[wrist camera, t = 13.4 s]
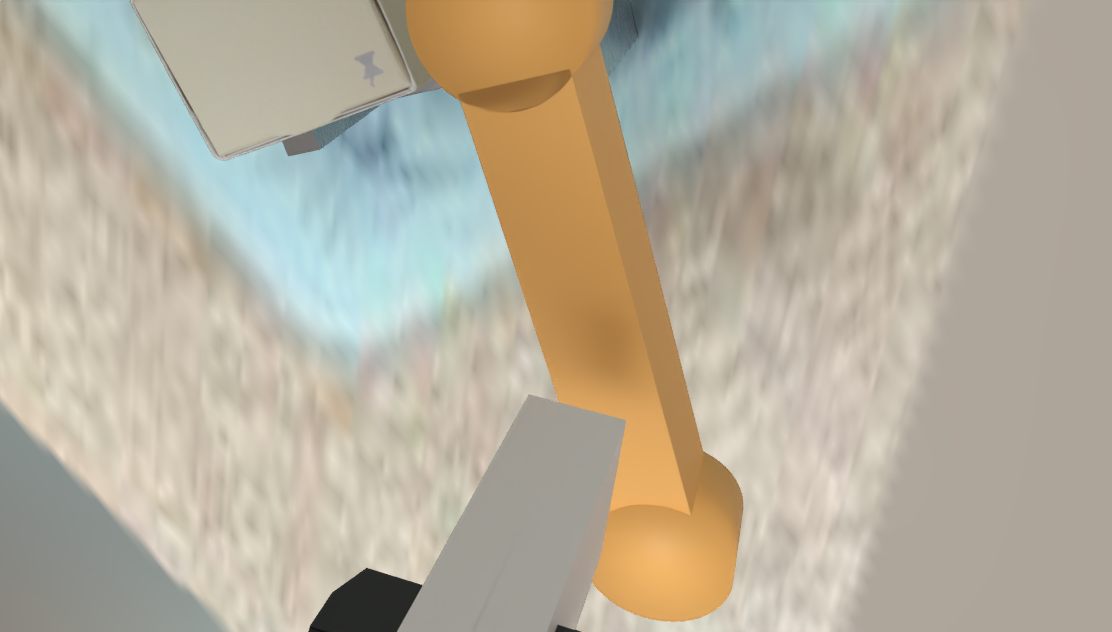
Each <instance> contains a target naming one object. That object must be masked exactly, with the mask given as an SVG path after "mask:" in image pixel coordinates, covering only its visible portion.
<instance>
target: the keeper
mask: <svg viewBox="0 0 1112 632" xmlns="http://www.w3.org/2000/svg"><path fill="white" fill-rule="evenodd" d="M405 6H406V20H407V26H408V31H409V35H410V38H411V42H412V44H413V46H414V49H415V51H416V54H417V55H418V57H419V59H420V61H421V63H422V64H423V66H424V67H425V69H426V70H427V72H428V73H429V74H430V75H431V77H432V78H433V79H434V80H435V81H436V82H437V83H438V84H439V85H440V86H441V87H442V88H443V89H444V90H445V91H446V92H448V93H449V94H451V95H452V96H453V97H455V98H456V99H458V100H460V102H461V105H462V108H463V111H464V114H465V117H466V120H467V123H468V126H469V129H470V132H471V135H472V139H473V142H474V145H475V148H476V151H477V154H478V157H479V160H480V163H481V166H482V169H483V172H484V175H485V178H486V181H487V184H488V187H489V190H490V193H491V196H492V199H493V202H494V206H495V209H496V212H497V215H498V218H499V221H500V224H501V227H502V230H503V233H504V236H505V239H506V242H507V245H508V248H509V251H510V254H511V257H512V260H513V263H514V266H515V269H516V272H517V276H518V279H519V282H520V285H521V288H522V291H523V294H524V297H525V300H526V303H527V306H528V309H529V312H530V315H531V318H532V321H533V324H534V327H535V330H536V333H537V336H538V339H539V343H540V346H541V349H542V352H543V355H544V358H545V361H546V364H547V367H548V370H549V373H550V376H551V379H552V382H553V385H554V388H555V391H556V394H557V397H558V400H559V403H563V404H567V405H570V406H574V407H578V408H582V409H586V410H589V411H593V412H597V413H601V414H605V415H608V416H612V417H616V418H620V419H624V420H626V425H625V430H624V436H623V441H622V446H621V452H620V457H619V462H618V467H617V473H616V478H615V483H614V489H613V494H612V499H611V504H610V510H609V515H608V520H607V526H606V531H605V536H604V541H603V547H602V552H601V556H600V559H599V562H598V565H597V568H596V571H595V574H594V577H593V580H592V582H593V584H594V585H595V586H596V588H597V589H598V590H599V591H600V592H601V593H602V594H603V595H604V596H605V597H607V598H608V599H609V600H610V601H612V602H613V603H615V604H616V605H617V606H619V607H621V608H623V609H625V610H626V611H629V612H631V613H633V614H636V615H639V616H642V617H645V618H649V619H653V620H659V621H670V622H677V621H687V620H693V619H697V618H700V617H703V616H705V615H707V614H709V613H711V612H713V611H714V610H716V609H717V608H718V607H720V606H721V605H722V604H723V602H724V601H725V600H726V599H727V597H728V596H729V594H730V591H731V589H732V585H733V580H734V572H735V565H736V558H737V550H738V543H739V536H740V529H741V521H742V514H743V497H742V493H741V490H740V487H739V485H738V483H737V481H736V479H735V478H734V477H733V475H732V474H731V473H730V471H729V470H728V469H727V468H726V467H725V466H724V465H723V464H722V463H720V462H719V461H718V460H716V459H715V458H714V457H712V456H710V455H709V454H707V453H705V452H703V449H702V445H701V441H700V437H699V433H698V430H697V426H696V422H695V418H694V414H693V410H692V406H691V402H690V398H689V394H688V390H687V386H686V382H685V378H684V374H683V370H682V367H681V363H680V359H679V355H678V351H677V347H676V343H675V339H674V335H673V331H672V327H671V323H670V319H669V315H668V311H667V307H666V304H665V300H664V296H663V292H662V288H661V284H660V280H659V276H658V272H657V268H656V264H655V260H654V256H653V252H652V248H651V244H650V241H649V237H648V233H647V229H646V225H645V221H644V217H643V213H642V209H641V205H640V201H639V197H638V193H637V189H636V185H635V181H634V178H633V174H632V170H631V166H630V162H629V158H628V154H627V150H626V146H625V142H624V138H623V134H622V130H621V126H620V122H619V118H618V115H617V111H616V107H615V103H614V99H613V95H612V91H611V87H610V83H609V79H608V75H607V71H606V67H605V63H604V59H603V55H602V52H601V48H600V43H601V41H602V39H603V37H604V35H605V33H606V31H607V29H608V26H609V23H610V20H611V15H612V10H613V0H406V3H405Z"/></svg>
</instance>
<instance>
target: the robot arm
mask: <svg viewBox="0 0 1112 632" xmlns="http://www.w3.org/2000/svg"><path fill="white" fill-rule="evenodd" d="M625 425H626V420H624V419H620V418H616V417H612V416H608V415H605V414H601V413H597V412H593V411H589V410H586V409H582V408H578V407H574V406H570V405H567V404H563V403H559V402H555V401H551V400H548V399H544V398H540V397H536V396H532V395H528V397H527V399H526V401H525V402H524V404H523V406H522V408H521V410H520V411H519V413H518V415H517V417H516V419H515V420H514V422H513V424H512V426H511V428H510V429H509V431H508V433H507V435H506V437H505V438H504V440H503V442H502V444H501V446H500V447H499V449H498V451H497V453H496V455H495V456H494V458H493V460H492V462H491V464H490V465H489V467H488V469H487V471H486V473H485V474H484V476H483V478H482V480H481V482H480V483H479V485H478V487H477V489H476V491H475V492H474V494H473V496H472V498H471V500H470V501H469V503H468V505H467V507H466V509H465V510H464V512H463V514H462V516H461V518H460V519H459V521H458V523H457V525H456V527H455V528H454V530H453V532H452V534H451V536H450V537H449V539H448V541H447V543H446V545H445V546H444V548H443V550H442V552H441V554H440V555H439V557H438V559H437V561H436V563H435V564H434V566H433V568H432V570H431V572H430V573H429V575H428V577H427V579H426V581H425V582H424V584H423V585H420V584H417V583H414V582H411V581H407V580H404V579H401V578H398V577H394V576H391V575H388V574H385V573H381V572H378V571H375V570H372V569H368V568H366V569H365V570H363V571H362V572H360V573H359V574H358V575H356V576H355V577H353V578H352V579H351V580H349V581H348V582H346V583H345V584H344V585H342V586H341V587H339V588H338V589H337V590H335V591H334V592H332V594H331V595H330V597H329V598H328V600H327V601H326V603H325V604H324V606H323V607H322V609H321V610H320V612H319V613H318V615H317V616H316V618H315V619H314V621H313V622H312V624H311V625H310V629H309V631H308V632H580V631H577V630H575V629H576V626H577V623H578V620H579V618H580V615H581V612H582V609H583V606H584V603H585V600H586V597H587V594H588V591H589V588H590V585H591V583H592V580H593V577H594V574H595V571H596V568H597V565H598V562H599V559H600V556H601V552H602V547H603V541H604V536H605V531H606V526H607V520H608V515H609V510H610V504H611V499H612V494H613V489H614V483H615V478H616V473H617V467H618V462H619V457H620V452H621V446H622V441H623V436H624V430H625Z"/></svg>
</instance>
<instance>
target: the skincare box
mask: <svg viewBox="0 0 1112 632" xmlns="http://www.w3.org/2000/svg"><path fill="white" fill-rule="evenodd" d="M130 3H131V5H132V7H133V9H134V11H135V13H136V15H137V16H138V18H139V20H140V22H141V23H142V25H143V27H144V29H145V31H146V33H147V35H148V37H149V39H150V41H151V43H152V45H153V47H154V48H155V50H156V52H157V54H158V56H159V58H160V60H161V61H162V63H163V65H164V67H165V69H166V71H167V73H168V75H169V77H170V78H171V80H172V82H173V84H174V86H175V87H176V89H177V91H178V93H179V94H180V96H181V98H182V100H183V102H184V104H185V106H186V108H187V109H188V111H189V113H190V115H191V117H192V119H193V121H194V122H195V124H196V126H197V128H198V130H199V131H200V133H201V135H202V137H203V139H204V141H205V142H206V144H207V146H208V148H209V150H210V152H211V153H212V155H213V156H214V157H215V158H217V159H219V160H223V161H226V160H229V159H232V158H234V157H237V156H240V155H243V154H246V153H249V152H252V151H255V150H258V149H260V148H263V147H266V146H269V145H272V144H275V143H277V142H280V141H283V140H285V139H288V138H291V137H294V136H297V135H300V134H302V133H305V132H308V131H311V130H313V129H316V128H319V127H321V126H324V125H327V124H329V123H332V122H335V121H337V120H340V119H342V118H345V117H348V116H350V115H353V114H356V113H359V112H361V111H364V110H367V109H369V108H372V107H375V106H377V105H380V104H383V103H386V102H388V101H390V100H393V99H395V98H398V97H401V96H404V95H407V94H410V93H412V92H414V91H416V90H418V89H419V88H420V87H421V86H423V85H424V84H425V83H427V82H428V81H429V80H431V79H432V77H431V75H430V74H429V73H428V72H427V70H426V69H425V67H424V66H423V64H422V63H421V61H420V59H419V57H418V55H417V54H416V51H415V49H414V46H413V44H412V42H411V38H410V35H409V31H408V26H407V20H406V6H405V3H406V0H130Z"/></svg>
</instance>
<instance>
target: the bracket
mask: <svg viewBox="0 0 1112 632" xmlns="http://www.w3.org/2000/svg"><path fill="white" fill-rule="evenodd" d="M637 38H638V34H637V30H636V26H635V22H634V17H633V13H632V9H631V5H630V0H613V10H612V15H611V20H610V23H609V26H608V29H607V31H606V33H605V35H604V37H603V39H602V41H601V43H600V48H601V52H602V55H603V59H604V63H605V67H606V71H607V75H608V77H609V75H610V74H611V73H612V71H613V70H614V69H615V67H616V66H617V65H618V63H619V62H620V61H621V59H622V58H623V57H624V55H625V54H626V53H627V51H628V50H629V49H630V47H631V46H632V45H633V43H634V42H635V41H636V39H637ZM440 88H442V87H441V86H440V85H439V84H438V83H437V82H436V81H435V80H434V79H433V78H432V79H431V80H429V81H428V82H427V83H425V84H424V85H423V86H421V87H420V88H419V89H418V90H416V91H414V92H412V93H410V94H407V95H404V96H409V95H413V94H418V93H422V92H426V91H431V90H435V89H440ZM404 96H401V97H404ZM398 98H400V97H398ZM380 105H381V104H380ZM378 106H379V105H377V106H375V107H372V108H369V109H367V110H364V111H361V112H359V113H356V114H353V115H350V116H348V117H345V118H342V119H340V120H337V121H335V122H332V123H329V124H327V125H324V126H321V127H319V128H316V129H313V130H311V131H308V132H305V133H302V134H300V135H297V136H294V137H291V138H288V139H285V140H283V141H282V142H283V144H284V147H285V149H286V152H287V154H288V156H292V155H296V154H301V153H306V152H311V151H315V150H320V149H321V148H323V147H324V146H325V145H327V144H328V143H330V142H331V141H332V140H334V139H335V138H336V137H338V136H339V135H340V134H342V133H343V132H344V131H346V130H347V129H348V128H350V127H351V126H352V125H354V124H355V123H356V122H358V121H359V120H361V119H362V118H363V117H365V116H366V115H367V114H369V113H370V112H371V111H373V110H374V109H375V108H377V107H378Z"/></svg>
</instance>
